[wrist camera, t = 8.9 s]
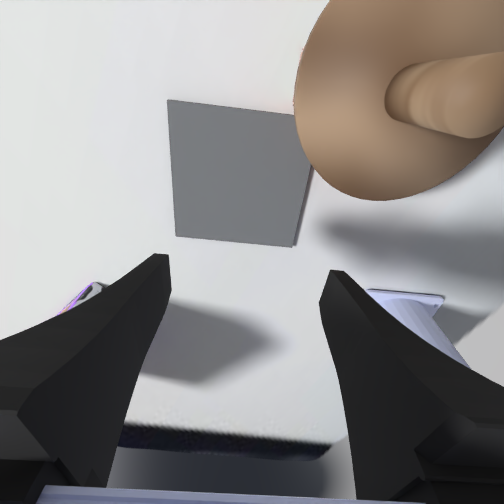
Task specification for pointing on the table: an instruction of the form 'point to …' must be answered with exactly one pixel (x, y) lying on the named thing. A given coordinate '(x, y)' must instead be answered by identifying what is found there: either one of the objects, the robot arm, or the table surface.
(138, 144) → the table surface
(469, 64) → the lid
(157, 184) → the table surface
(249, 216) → the mat
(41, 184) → the table surface
